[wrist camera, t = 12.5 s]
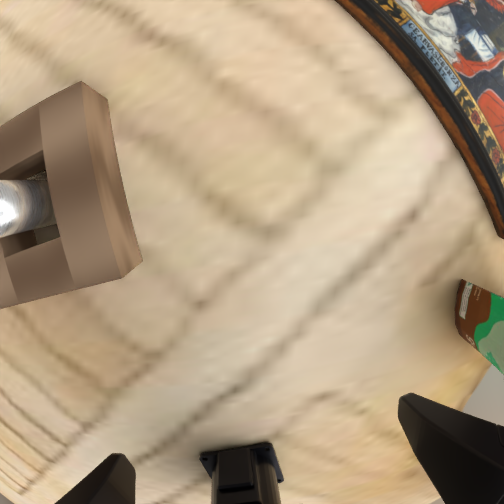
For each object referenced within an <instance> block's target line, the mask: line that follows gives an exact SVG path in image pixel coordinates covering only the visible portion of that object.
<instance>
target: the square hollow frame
mask: <svg viewBox="0 0 504 504" xmlns="http://www.w3.org/2000/svg"><path fill="white" fill-rule="evenodd" d="M45 169H46V173H47V179H48V184H49V189H50V195H51V200H52V204H53V209H54V213H55V218H56V222H57V226H58V230H59V234H60V237H58V238H56V239H53V240H50V241H47V242H45V243H42V244H39V245H37V243H36V239H35V235H34V231H33V230H29V231H25V232H21V233H17V234H13V235H9V236H5V237H1V238H0V309H2V308H6V307H10V306H14V305H18V304H22V303H26V302H30V301H34V300H37V299H41V298H45V297H49V296H53V295H57V294H61V293H65V292H69V291H73V290H77V289H81V288H85V287H89V286H93V285H97V284H101V283H105V282H109V281H113V280H117V279H121V278H123V277H124V276H125V275H126V274H128V273H129V272H130V271H131V270H132V269H134V268H135V267H136V266H137V265H139V264H140V263H141V262H142V261H143V260H142V257H141V253H140V250H139V246H138V243H137V239H136V236H135V232H134V228H133V224H132V220H131V217H130V213H129V209H128V205H127V200H126V196H125V192H124V188H123V183H122V179H121V174H120V169H119V164H118V159H117V154H116V149H115V144H114V138H113V133H112V127H111V121H110V114H109V107H108V100H107V99H106V98H105V97H103V96H102V95H100V94H99V93H97V92H96V91H95V90H93V89H92V88H90V87H89V86H88V85H86V84H85V83H83V82H82V81H80V82H78V83H76V84H74V85H72V86H70V87H68V88H66V89H64V90H62V91H60V92H58V93H56V94H54V95H52V96H50V97H48V98H47V99H45V100H43V101H41V102H39V103H38V104H36V105H34V106H32V107H31V108H29V109H27V110H26V111H24V112H22V113H21V114H19V115H18V116H16V117H14V118H13V119H11V120H10V121H8V122H7V123H5V124H4V125H2V126H1V127H0V180H25V179H27V178H29V177H31V176H33V175H35V174H37V173H39V172H41V171H43V170H45Z"/></svg>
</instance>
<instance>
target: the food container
mask: <svg viewBox="0 0 504 504" xmlns="http://www.w3.org/2000/svg"><path fill="white" fill-rule="evenodd" d="M455 323H456V326H457V329H458V332H459V334H460V335H461V336H462V337H463V338H464V339H465V340H466V341H467V342H469V343H470V344H471V345H472V346H473V347H474V348H475V349H476V350H478V351H479V352H480V353H481V354H482V355H483V356H484V357H485V358H486V359H487V360H489V361H490V362H491V363H492V364H493V365H494V366H495V367H496V368H497V369H498V370H499V371H500V372H501V373H503V374H504V298H503V297H501V296H498V295H496V294H494V293H492V292H490V291H487V290H485V289H483V288H481V287H479V286H476V285H474V284H472V283H470V282H467V281H465V280H463V279H462V280H461V283H460V286H459V289H458V292H457V299H456V305H455Z"/></svg>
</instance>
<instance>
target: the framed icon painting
mask: <svg viewBox="0 0 504 504" xmlns="http://www.w3.org/2000/svg"><path fill="white" fill-rule="evenodd" d="M335 1H336V2H338V3H339V4H340V5H341V6H342V7H343V8H344V9H345V10H346V11H347V12H348V13H349V14H351V15H352V16H353V17H354V18H355V19H356V20H357V21H358V22H359V23H360V24H361V25H362V26H363V27H364V28H365V29H366V30H367V31H368V32H369V33H370V34H371V35H372V36H373V37H374V38H375V39H376V40H377V41H378V42H379V43H380V44H381V45H382V46H383V48H384V49H385V50H386V51H387V52H388V53H389V54H390V55H391V57H392V58H393V59H394V60H395V61H396V62H397V64H398V65H399V66H400V67H401V68H402V70H403V71H404V72H405V73H406V75H407V76H408V77H409V78H410V79H411V81H412V82H413V83H414V84H415V86H416V87H417V89H418V90H419V91H420V93H421V94H422V95H423V97H424V98H425V100H426V101H427V102H428V104H429V105H430V107H431V108H432V110H433V111H434V113H435V114H436V116H437V117H438V119H439V120H440V122H441V123H442V125H443V127H444V128H445V130H446V131H447V133H448V135H449V136H450V138H451V140H452V141H453V143H454V145H455V147H456V148H457V149H458V151H459V152H460V154H461V156H462V158H463V160H464V162H465V163H466V165H467V167H468V169H469V172H470V174H471V175H472V177H473V179H474V181H475V183H476V185H477V187H478V190H479V192H480V194H481V196H482V198H483V200H484V202H485V205H486V207H487V209H488V211H489V214H490V216H491V218H492V221H493V224H494V227H495V229H496V232H497V234H498V236H499V237H501V238H502V239H504V0H335Z"/></svg>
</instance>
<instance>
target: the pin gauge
mask: <svg viewBox="0 0 504 504" xmlns="http://www.w3.org/2000/svg"><path fill="white" fill-rule="evenodd" d="M54 224H57V222H56V218H55V213H54V209H53V204H52V200H51V195H50V189H49V184H48V180H0V238H1V237H5V236H9V235H13V234H17V233H21V232H25V231H29V230H33V229H37V228H41V227H45V226H50V225H54Z"/></svg>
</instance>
